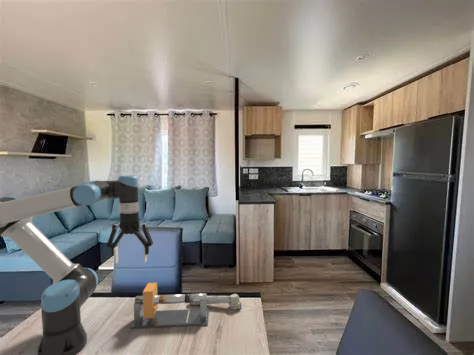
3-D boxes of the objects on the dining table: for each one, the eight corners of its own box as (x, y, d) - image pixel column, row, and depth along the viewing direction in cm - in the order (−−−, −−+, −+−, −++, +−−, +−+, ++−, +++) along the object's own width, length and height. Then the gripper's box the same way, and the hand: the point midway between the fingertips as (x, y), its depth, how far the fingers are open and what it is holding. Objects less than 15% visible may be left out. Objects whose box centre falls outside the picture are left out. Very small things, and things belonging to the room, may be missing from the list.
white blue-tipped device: (191, 293, 126) (240, 290, 122) (193, 306, 126) (242, 303, 122) (188, 299, 121) (239, 295, 117) (190, 312, 121) (241, 310, 117)
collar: (143, 318, 107) (142, 291, 106) (148, 307, 115) (148, 282, 114) (153, 317, 107) (152, 291, 107) (157, 307, 115) (157, 282, 114)
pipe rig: (130, 328, 105) (129, 303, 105) (138, 313, 116) (138, 290, 116) (207, 325, 107) (207, 300, 107) (209, 310, 118) (208, 287, 118)
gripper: (96, 214, 104) (98, 266, 105) (155, 213, 105) (156, 264, 106) (104, 210, 111) (106, 259, 112) (159, 209, 112) (160, 258, 114)
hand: (130, 262), depth 109 cm, fingers open, 11 cm apart
